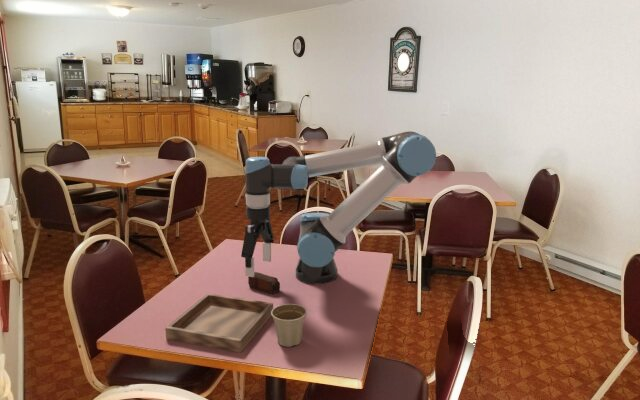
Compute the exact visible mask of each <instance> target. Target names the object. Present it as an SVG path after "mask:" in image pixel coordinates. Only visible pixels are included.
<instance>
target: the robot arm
mask: <svg viewBox="0 0 640 400" xmlns="http://www.w3.org/2000/svg"><path fill="white" fill-rule="evenodd" d="M436 160H437V151H436V148H435V145H434V144H433V142H431V139H429V138H428V137H426V136H425V135H422V134H419V133H418V132H416V131H411V130H410V131H403V132H399V133H397V134H392V135H388V136H384V137H380V139H379V140H378V141H375V142H370V143H364V144H359V145H358V144H357V145H354V146H349V147H344V148H338V149H332V150H328V151H322V152H317V153H313V154H312V153H311V154H307V155H306V154H305V155H301V156H289V157H287V158H286V159H284V160H283V162H282V163H281V164H277V163H275V164H273V163H271V162H270V159H269V158H268V157H266V156H251V157H248V158H247V159H245V172H244V177H245V178H244V179H245V195H244V197H245V204H246V207H245V215H246V217H245V218H246V219H248V220H249V221H250V224H249V225H245V229H244V233H245V234H244V239H243V244H242V250H241V255H240V257H241V258H243V259H244V271H245V277H248V276H249V277H254V272H255V257H254V253H255V250H256V245H257V242H258V240H259V238H260V236H261V238H262V240H263V242H262V262H268V263H271V262H272V244H274V242H275V240H274V238H275V236H274V232H273V228H272V223H271V208H270V205H271V192H270V191H271V189H286V190H287V189H289V190H291V189H293V190H301V189H302V190H304V189H307V187H308V183H309V182H308V181H309V179H308V178H312V177H317V176H323V175H329V174H334V173H335V174H336V173H339V172H345V171H351V170H354V169H355V170H356V169H361V168H367V167H372V166H378V165H379V167H377V169H375V170H374V172H373V173H372V174H370V175H369V176H368V177H367V178H366V179H365V180H364V181H363V182H362V183H361V184H360V185H358V186H357V187H356V189H355V190H353V192H351V193H350V194H349V195H348V196H347V197H346V198H345V199H344V200H343V201H342V202H341V203H340V204H339V205H337V207H336V208H334V209H333V210H332V211H331V212H330V213H326V212H305V213H302V214H301V215H300V220H299V223H300V224H299V225H300V228H299V229H300V230H299V235H298V236H299V237H298V241H297V244H296V245H297V246H296V248H297V254H298V257H299V259H298V261H297V264H296V267H295V278H296V279H297V280H298V281H301V282H303V283H307V284H312V285H313V284H317V285H318V284H319V285H320V284H327V283H330V282H332V281H335V280H336V279H337V278H338V267H337V263H336V261H335V258H334V257H335V253H336V252H337V251H338V250H339V249H340V248H341V247H342V246H343V245H345V243H346V240H347V239H346V237H347V235H348V234H349V233H351V232H352V230H354V229H355V228H356V227H357V226H358V225H359V224H360V223H361V222H362V221H363V220H364V219H366V218H367V217H368V216H369V215H370V214H371V213H372V212H373V211H374V210H375V209H376V208H377V207H378V206H379V205H381V204H382V203H383V202H384V201H385V200H386V199H387V198H388V197H390V195H391V194H392V193H394V192H395V191H396V190H398V188H399V187H400V186H401V185H410V184H411V183H412V181H414V180H415V179H417V177H419V176H422V175H425V174H427V173H428V172H429V171H431V170H432V168H433V167H434V166H435V163H436Z"/></svg>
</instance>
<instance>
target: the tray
mask: <svg viewBox="0 0 640 400" xmlns="http://www.w3.org/2000/svg"><path fill="white" fill-rule="evenodd" d="M273 308H274V302H269V301H268V302H267V301H262V300H255V299H249V298H241V297H235V296H228V295H221V294H214V293H209V292H208V293H206V294H205V295H204V296H202V297H200V299H199V300H197V301H196V302H195V303H194V304H193V305H192V306H190V307H189V308H188V309H187V310H185V311H184V312H183V313H182V314H181V315H179V316H178V317H176V318H175V319H174V320H173V321H171V322H170V323H169V324H168V325H167V326H166V327H165V329H164V330H165V338H166V340H172V341H176V342H182V343H186V344H187V343H188V344H192V345H198V346H204V347H208V348H214V349H220V350H225V351H229V352H235V353H242V351H243V350H244V349H245V348H246V347H247V346H248V344H249V343H250V342H251V340H253V338H254V337H255V336H256V335H257V333H258V332H259V331H260V330H261V329H262V327H264V325H265V324H266V323H267V322H268V320H269V319H270V318H271V317H272V315H271V311H272V310H273Z"/></svg>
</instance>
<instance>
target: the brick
mask: <svg viewBox="0 0 640 400" xmlns="http://www.w3.org/2000/svg"><path fill="white" fill-rule="evenodd" d="M247 277H248V280H247V282H248V283H247V284H248V287H249V288H250V289H254V290H257V291H260V292H263V293H267V294H269V295H274V294H275V293H277V292H279V291H280V290H281V283H280V281H279V278H277V277H274V276H271V275H267V274H264V273H261V272H257V271H254V277H249V276H247Z"/></svg>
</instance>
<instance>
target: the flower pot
mask: <svg viewBox="0 0 640 400" xmlns="http://www.w3.org/2000/svg"><path fill="white" fill-rule="evenodd" d="M307 313H308V310H307V309H306V307H305V306H303V305H301V304H296V303H284V304H280V305H277V306H275V307H273V310H272V311H271V317H272V320H273V321H274V326H275V331H276V338H277V342H278V344H279V345H280V346H282V347H286V348H290V347H291V348H292V347H293V346H299V344H300V343H301V341H302V335H303V329H304V328H303V327H304V321H305V319H306V316H307Z"/></svg>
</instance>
